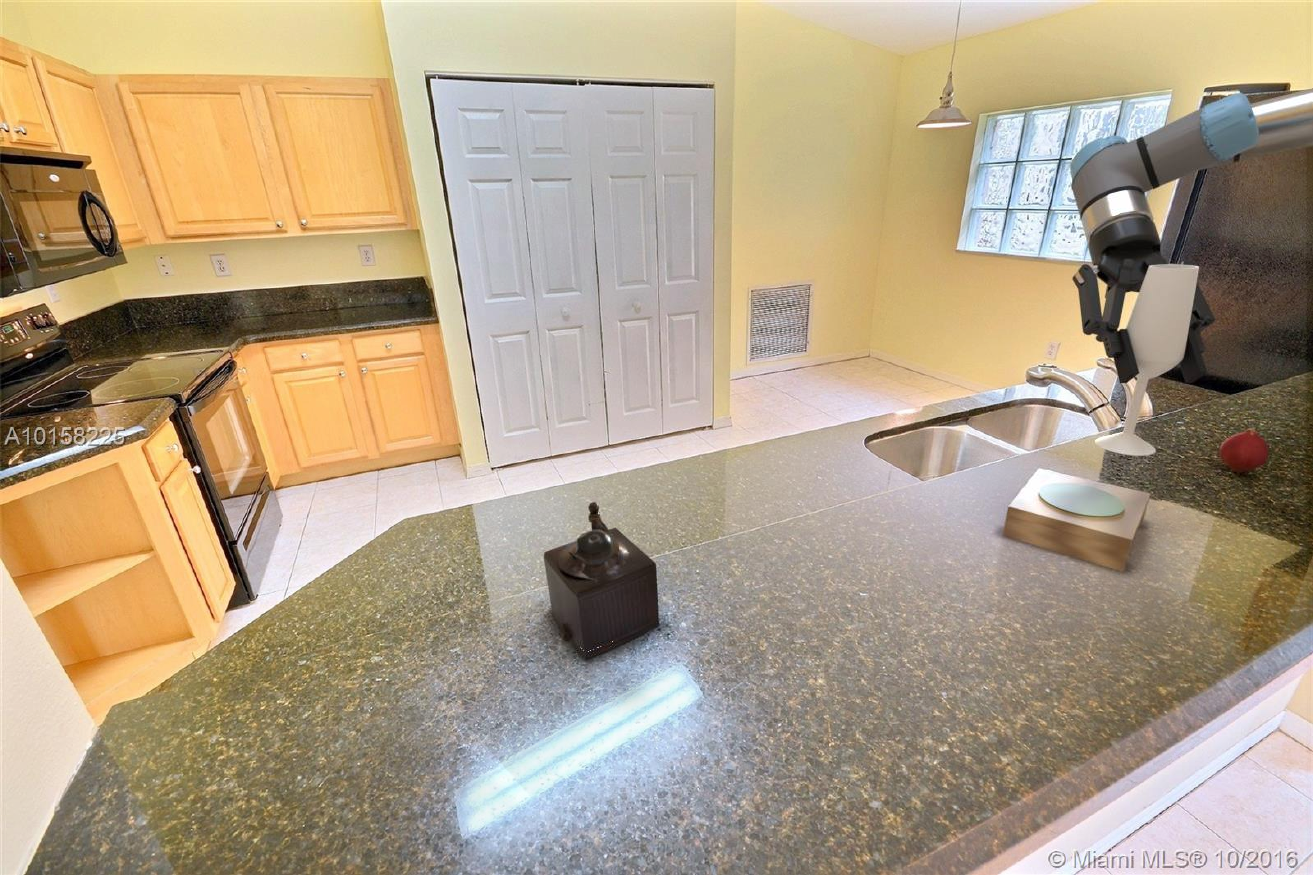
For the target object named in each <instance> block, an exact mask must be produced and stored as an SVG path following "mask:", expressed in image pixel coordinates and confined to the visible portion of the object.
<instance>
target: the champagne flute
mask: <svg viewBox="0 0 1313 875" xmlns="http://www.w3.org/2000/svg"><path fill="white" fill-rule="evenodd" d="M1176 264H1177V263H1172V264H1164V265H1151V266H1149V268H1148V270H1147V273H1146V276H1145V278H1144V281H1143V284H1142V286H1141V289H1140V292H1139V293H1138V295H1137V298H1136V300H1135V303H1134V306H1133V307H1132V311H1131V314H1130V316H1129V319H1128V322H1127V324H1126V327H1125V329H1127V331H1128V334H1129V338H1130V341H1131V345H1132V348H1133V352H1134V356H1135V359H1136V363H1137V366H1138V370H1139V374H1138V375H1136V376H1135V377H1134V378H1136V381H1135V385H1134V390H1133V392H1132V397H1131V399H1130V400H1131V401H1130V403H1129V408H1128V411H1127V415H1126V418H1125V422H1124V425H1123V430H1122V432H1118V433H1113V434H1109V435H1105V436H1101V437H1098V438H1096V439H1095V441H1094V443H1095V444H1096V446H1098V447H1099V448H1102V449H1104V450H1106V451H1109V452H1113V453H1117V454H1122V455H1126V456H1141V457H1143V456H1150V455H1154V454H1155V453H1156V451H1157V450H1156V448H1155V447H1154V446H1153V445H1151V444H1150V443H1148V442H1147V441H1146V440H1144V439H1142V438H1141V437H1139V436H1138V435H1136V434H1135V431H1136V427H1137V423H1138V420H1139V415H1140V412H1141V408H1142V405H1143V401H1144V399H1145V394H1146V391H1147V387H1148V384H1149V381H1150V380H1151V379H1155V378H1157V377H1160V376H1161V375H1163V374H1165V373H1167V372H1169V371H1171V370H1173V368H1175V367H1177V365H1179V363H1180V362H1181V361H1182V359H1183V358H1184V354H1185V348H1186V342H1187V336H1188V330H1189V324H1190V318H1191V312H1192V307H1193V301H1194V295H1195V289H1196V283H1198V277H1199V270H1200V266H1198V265H1194V264H1193V265H1181V264H1179V265H1176Z"/></svg>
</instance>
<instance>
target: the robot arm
mask: <svg viewBox="0 0 1313 875" xmlns="http://www.w3.org/2000/svg"><path fill="white" fill-rule="evenodd" d="M1312 147H1313V88H1308V89H1304V90H1300V91H1296V92H1293V93H1289V94H1288V93H1287V94H1285V95H1281V96H1277V97H1272V98H1268V99H1264V100H1260V101H1257V102H1253V103H1250V101H1249V98H1248V97H1247V96H1246V94H1244V93H1240V92H1236V93H1232V94H1230V95H1227V96H1226V97H1223V98H1221V99H1219V100H1216V101H1212V102H1209V103H1207V104H1205V105H1203V107H1200V108H1198V109H1197V110H1194V111H1193V112H1190V113H1188V114H1186V115H1184V116H1181V117H1179V118H1178V119H1176V120H1174V121H1172V122H1170V123H1168V124H1166V125H1164V126H1162V127H1160V128H1157V129H1156V130H1154V131H1152V132H1150V133H1147V134H1146V135H1145V134H1144V135H1143V136H1140V137H1138V138H1134V139H1132V140H1131V141H1128V140H1127V139H1126V138H1124V137H1123V136H1120V135H1109V136H1108V137H1104V138H1103V137H1098V138H1096V139H1094V140H1092V141H1089V142H1088V143H1087V144H1085V145H1083V146H1082V147H1081V148H1080V149H1079V150H1078V151H1077V152H1075V154H1074V155H1073V157H1072V158H1071V160H1070V163H1069V166H1068V167H1069V168H1068V170H1069V176H1070V177H1069V178H1070V181H1071V183H1070V187H1071V190H1072V194H1073V197H1074V201H1075V205H1076V208H1077V211H1078V214H1079V217H1080V222H1081V224H1082V228H1083V232H1084V236H1085V239H1086V244H1088V245H1087V248H1088V252H1089V256H1090V259H1091V263H1092V266H1091V265H1089V264H1087V263H1084V264H1082V265H1081V266H1080V267H1079V268H1078V270H1077V271H1076V272H1075V274H1074V275H1073V276H1072V279H1071V280H1072V281H1073V283H1074V284H1075V286H1076V289H1077V291H1078V299H1079V307H1080V318H1081V327H1082V328H1081V329H1082V332H1083V334H1084V335H1085V336H1091V335H1095V340H1096V341H1097V342H1099V343H1102V344H1103V348H1104V352H1105V355H1106V357H1107V358H1108V359H1113V362H1114V366H1115V370H1116V373H1117V377H1118V381H1119V384H1128V383H1129V382H1130V381H1131V380H1133V379H1134V378H1136V377H1135V376H1136V375H1138V374H1139V370H1138V366H1137V363H1136V359H1135V356H1134V352H1133V348H1132V345H1131V341H1130V338H1129V334H1128V331H1127V329H1126V328H1120V325H1121V324H1120V323H1121V319H1122V315H1123V314H1122V313H1123V309H1124V303H1125V299H1126V298H1125V297H1126V293H1138V294H1139V292H1140V289H1141V286H1142V284H1143V281H1144V278H1145V276H1146V273H1147V270H1148V268H1149V266H1151V265H1164V264H1173V263H1170V262H1169V261H1168V259H1167V258H1166V257H1165V256H1163V254H1162V253H1161V250H1162V249H1161V248H1162V247H1161V245H1162V241H1161V238H1160V235H1159V232H1158V229H1157V226H1156V223H1155V222H1154V216H1153V212H1152V209H1151V207H1150V204H1149V201H1148V198H1147V196H1146V193H1147V192H1150V191H1152V190H1155V189H1157V188H1158V189H1159V187H1162V186H1164V185H1167V184H1168V183H1172V182H1174V181H1176V180H1178V179H1179V180H1180V179H1181V178H1184V177H1187V176H1189V175H1192V174H1194V173H1196V172H1199V171H1201V170H1207V169H1212V168H1216V167H1220V166H1225V165H1229V164H1235V163H1240V162H1243V161H1248V160H1253V159H1258V158H1262V157H1267V156H1273V155H1277V154H1283V153H1286V152H1292V151H1297V150H1301V149H1306V148H1312ZM1175 264H1176V265H1193V266H1194V263H1193V262H1192V261H1190V260H1184V261H1182V262H1181V264H1179V263H1178V264H1177V263H1175ZM1098 279H1099V280H1100V281H1101V282H1103V283H1104V284H1105V285H1106V288H1105V294H1104V299H1105V301H1104V306H1103V311H1102V306H1101V297H1100V296H1101V295H1100V288H1099V281H1098ZM1215 322H1216V318H1215V316H1214V313H1213V312H1212V309H1211V308H1210V306H1209V303H1208V301H1207V300H1206V298H1205V296H1204V293H1203V291H1202V289H1201V287H1200V285H1199V283H1198V282H1197V283H1196V289H1195V295H1194V301H1193V307H1192V312H1191V318H1190V324H1189V330H1188V336H1187V342H1186V348H1185V354H1184V358H1183V359H1182V361H1181V362H1180V363H1178V365H1179V367H1180V370H1181V373H1182V376H1183V380H1184V383H1185V384H1193V383H1195V382H1196V381H1197V380H1199V379H1200V378H1201V377H1203V376H1205V375H1206V374H1207V373H1208V369H1207V366H1206V363H1205V360H1204V357H1203V355H1202V354H1203V353H1204V352H1205V351H1206V346H1205V343H1204V341H1203V336H1202V334H1201V333H1202V332H1203V331H1204V330H1205V329H1207V328H1208V327H1210V326H1211V325H1212V324H1214V323H1215ZM1119 328H1120V329H1119Z"/></svg>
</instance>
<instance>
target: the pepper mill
mask: <svg viewBox="0 0 1313 875" xmlns="http://www.w3.org/2000/svg"><path fill="white" fill-rule="evenodd" d="M587 509H588V512H589V513H588V516H587V518H588V522H589V523H590V524H591V530H589V531H586V532H582V533H581V534H580V535H579V536H578V538H577V539H576V540H575V541H572V542H569V543H565V544H563V545H561V546H557V547H554V548H552V549H549V550H546V551H544V552H543V562H544V567H545V574H546V576H545V577H546V582H547V587H548V588H547V589H548V594H549V601H550V606H551V607H550V608H551V611H550V615H551V617H552V618H553V621H554V622H555V624H556V626H557V631H558V634H559V635H560V636H561V637H562V638H563V639H564V640H565V641H566V642H568V643H569V644H570V645H571V646H572V649H574V650H575V652H576V653H577V654H579V655H580V656H581V658H583V659H584V660H585V661H588V660H591V659H594V658H596V657H599V656H601V655H604V654H607V653H609V652H612V651H614V650H615V649H617V648H620V647H622V646H624V645H626V644H628V643H631V642H633V641H634V640H637V639H638V638H641V637H642V636H644V635H646V634H648V633H649V632H651V631H652V630H654V629H656V628H657V627H659V626H660V621H659V616H660V615H659V614H660V613H659V591H658V590H659V589H658V588H659V587H658V573H657V563H656V562H655V561H654V560H653V559H652V558H651V557H650V556H648V555H647V553H645V552H644V551H642V550H641V549H640V547H638V546H637V545H636V544H635V543H634V542H633V541H631V540H630V539H629V538H628V537H627V536H626V535H625V534H623V532H621V531H620V530H619V529H618V528H617V527H612V528H610V529H609V527H607V525H606V524H605V523H604V522H603V519H602V517H601V512H600V511H599V510H600V505H599V503H598V502H596V501H592V502H589V504H588V506H587ZM612 641H613V642H612ZM600 646H601V647H600ZM580 647H581V648H582V649H581V648H580ZM597 647H599V648H597ZM593 649H594V650H593ZM583 650H584V651H583ZM590 650H591V651H590ZM588 651H589V652H588Z"/></svg>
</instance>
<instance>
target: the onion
mask: <svg viewBox="0 0 1313 875" xmlns="http://www.w3.org/2000/svg"><path fill="white" fill-rule="evenodd" d="M1218 455H1219V458H1220V460H1221V461H1222V462H1223V463H1224V464H1225V465H1226V466H1227V467H1228V468H1229V469H1230V470H1231V471H1232V472H1234V473H1238V474H1241V473H1245V472H1249V471H1253V470H1255V469H1258V468H1260V467H1262V466H1263V465H1265V463H1266V462H1267V461H1268V459H1269V455H1270V447H1269V444H1268V443H1267V442H1266V440H1265V439H1264V438H1263V437H1261V435H1259V434H1258V433H1257V431H1256V429H1254V428H1248V429H1245V431H1244V432H1240V433H1235V434H1233V435H1231V436H1229V437H1228V438H1226V439H1225V440H1224V441H1223V442H1222V444H1221V445H1220V448H1219V454H1218Z"/></svg>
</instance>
